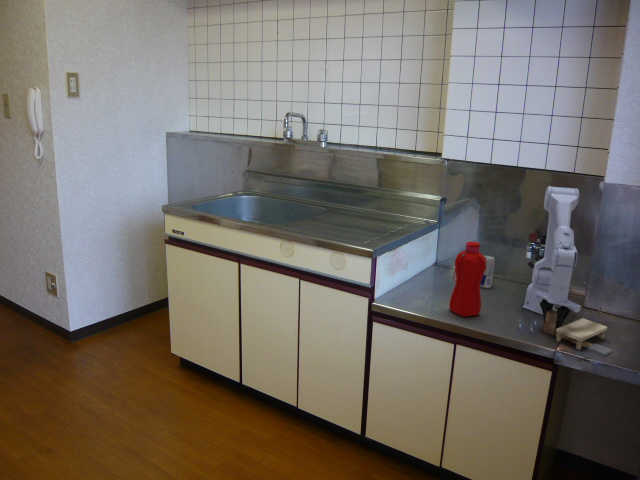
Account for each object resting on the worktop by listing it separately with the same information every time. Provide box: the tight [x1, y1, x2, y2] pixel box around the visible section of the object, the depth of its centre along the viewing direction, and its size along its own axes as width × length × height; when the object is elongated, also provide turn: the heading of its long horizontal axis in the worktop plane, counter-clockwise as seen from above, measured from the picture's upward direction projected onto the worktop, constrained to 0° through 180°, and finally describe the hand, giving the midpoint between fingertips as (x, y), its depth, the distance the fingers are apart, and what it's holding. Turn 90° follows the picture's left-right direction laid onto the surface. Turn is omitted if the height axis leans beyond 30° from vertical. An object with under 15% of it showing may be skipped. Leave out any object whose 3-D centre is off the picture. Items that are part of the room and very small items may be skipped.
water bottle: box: [448, 241, 486, 318], centre depth 185 cm, size 9×11×25 cm
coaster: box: [586, 343, 613, 358], centre depth 164 cm, size 5×5×1 cm
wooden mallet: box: [543, 309, 595, 349], centre depth 170 cm, size 15×4×7 cm, turn 38°
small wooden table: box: [555, 317, 608, 351], centre depth 171 cm, size 8×16×4 cm, turn 128°
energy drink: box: [480, 254, 496, 289], centre depth 214 cm, size 5×5×12 cm
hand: (552, 325), depth 175 cm, fingers closed on wooden mallet, 3 cm apart
